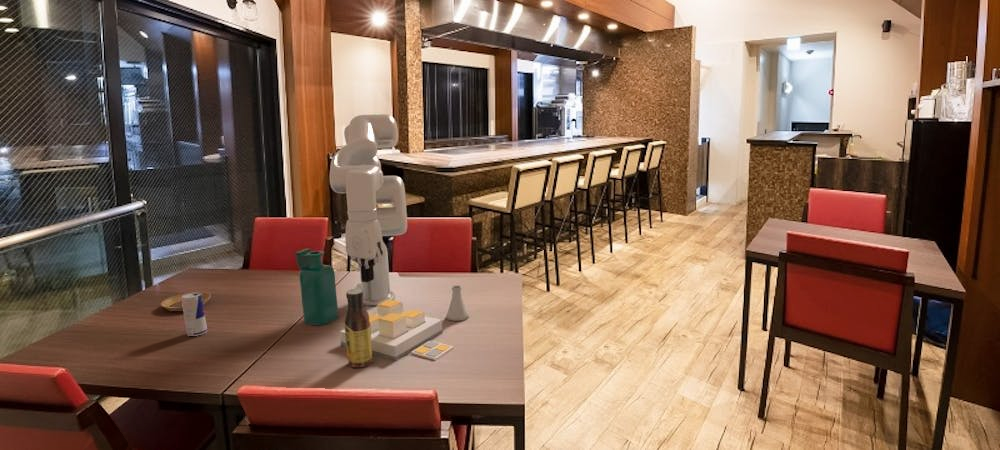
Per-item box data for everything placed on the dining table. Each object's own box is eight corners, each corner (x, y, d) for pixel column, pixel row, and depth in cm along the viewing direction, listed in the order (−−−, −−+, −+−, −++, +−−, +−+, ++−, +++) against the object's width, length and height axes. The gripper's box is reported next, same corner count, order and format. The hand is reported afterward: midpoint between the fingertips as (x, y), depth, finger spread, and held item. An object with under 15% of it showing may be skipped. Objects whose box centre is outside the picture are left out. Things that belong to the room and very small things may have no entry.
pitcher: (341, 317, 173) (335, 249, 168) (322, 327, 166) (315, 256, 161) (317, 312, 177) (310, 246, 172) (297, 322, 170) (290, 253, 165)
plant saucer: (167, 318, 176) (166, 310, 175) (157, 306, 187) (156, 299, 186) (217, 306, 185) (216, 299, 185) (205, 296, 196) (204, 289, 196)
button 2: (378, 320, 160) (376, 304, 159) (390, 314, 164) (389, 298, 163) (391, 323, 157) (390, 307, 156) (403, 317, 162) (402, 301, 161)
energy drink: (211, 331, 164) (206, 293, 162) (196, 338, 159) (190, 299, 157) (197, 329, 166) (192, 291, 163) (182, 336, 161) (176, 297, 159)
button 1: (358, 336, 154) (357, 319, 153) (371, 329, 158) (370, 313, 157) (372, 339, 151) (370, 322, 150) (385, 332, 155) (384, 316, 154)
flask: (466, 322, 167) (464, 291, 165) (443, 321, 168) (441, 290, 166) (471, 313, 174) (470, 283, 172) (449, 312, 175) (448, 282, 173)
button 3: (379, 336, 149) (378, 318, 148) (392, 329, 154) (391, 312, 153) (393, 339, 147) (392, 322, 146) (406, 332, 151) (405, 315, 150)
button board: (341, 344, 153) (340, 331, 152) (390, 320, 170) (389, 308, 169) (395, 360, 143) (394, 346, 142) (442, 332, 160) (441, 319, 159)
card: (411, 353, 147) (411, 351, 146) (430, 342, 153) (429, 339, 153) (435, 360, 142) (435, 357, 142) (453, 348, 149) (453, 345, 149)
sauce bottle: (350, 358, 145) (344, 286, 140) (374, 357, 145) (369, 285, 141) (345, 370, 138) (339, 295, 134) (371, 368, 139) (365, 294, 134)
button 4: (399, 331, 156) (398, 314, 155) (411, 324, 161) (410, 308, 160) (413, 334, 154) (412, 318, 153) (425, 328, 158) (424, 311, 157)
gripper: (332, 215, 148) (338, 280, 152) (373, 221, 140) (378, 289, 145) (352, 210, 154) (358, 272, 158) (393, 215, 147) (397, 280, 151)
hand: (367, 280), depth 152 cm, fingers closed
